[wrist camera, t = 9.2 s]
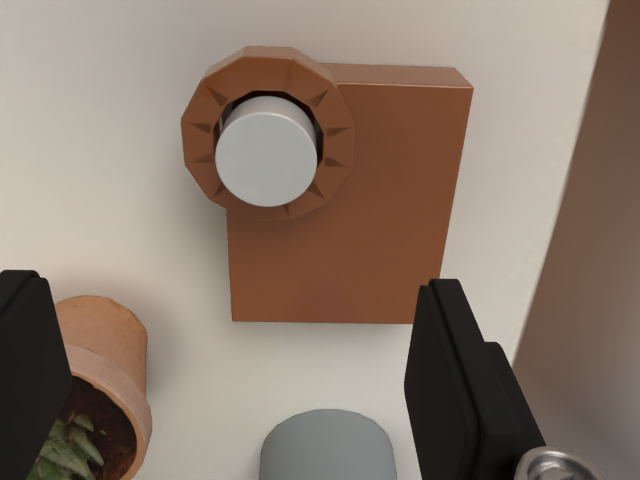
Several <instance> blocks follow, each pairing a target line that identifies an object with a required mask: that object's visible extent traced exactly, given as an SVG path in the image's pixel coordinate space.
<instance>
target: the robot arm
mask: <svg viewBox="0 0 640 480" xmlns="http://www.w3.org/2000/svg"><path fill="white" fill-rule="evenodd" d="M71 385H72V374H71V370H70V366H69V362H68V358H67V354H66V350H65V346H64V342H63V338H62V334H61V330H60V326H59V322H58V318H57V314H56V310H55V306H54V303H53V299H52V295H51V291H50V287H49V283H48V281H47V279H46V278H40V276H39V274H38V273H37V272H36V271H34V270H4V271H2V272H1V273H0V480H27V478H28V476H29V474H30V472H31V470H32V468H33V466H34V464H35V462H36V460H37V458H38V456H39V453H40V451H41V449H42V447H43V445H44V443H45V441H46V439H47V437H48V435H49V433H50V431H51V429H52V427H53V425H54V423H55V421H56V419H57V417H58V415H59V413H60V411H61V409H62V407H63V405H64V403H65V401H66V399H67V397H68V395H69V392H70V389H71ZM404 393H405V399H406V404H407V409H408V414H409V418H410V423H411V428H412V433H413V438H414V443H415V447H416V452H417V457H418V462H419V467H420V472H421V476H422V480H607V479H606V478H605V477H604V476H603V474H602V473H601V472H600V471H599V470H598V468H596V467H595V466H594V465H593V464H591V463H590V462H589V461H588V460H586V459H585V458H583V457H581V456H579V455H577V454H575V453H573V452H572V451H569V450H565V449H562V448H558V447H548V446H546V444H545V441H544V439H543V437H542V435H541V433H540V430H539V428H538V426H537V424H536V422H535V419H534V418H533V415H532V413H531V411H530V408H529V406H528V404H527V402H526V400H525V397H524V395H523V393H522V391H521V389H520V386H519V384H518V382H517V380H516V377H515V376H514V373H513V371H512V369H511V366H510V364H509V362H508V360H507V358H506V355H505V353H504V351H503V349H502V347H501V346H500V344H498V343H497V342H485V341H484V339H483V337H482V334H481V332H480V329H479V327H478V325H477V322H476V320H475V317H474V315H473V313H472V310H471V308H470V306H469V303H468V301H467V298H466V296H465V294H464V291H463V289H462V286H461V284H460V282H459V280H457V279H433V278H431V279H430V280H429V282H428V285H421V286H420V288H419V292H418V298H417V304H416V310H415V316H414V323H413V329H412V335H411V341H410V348H409V354H408V360H407V366H406V373H405V379H404Z"/></svg>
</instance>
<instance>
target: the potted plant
mask: <svg viewBox="0 0 640 480" xmlns="http://www.w3.org/2000/svg"><path fill="white" fill-rule="evenodd" d="M54 306H55V310H56V314H57V318H58V322H59V326H60V330H61V334H62V338H63V342H64V346H65V350H66V354H67V358H68V362H69V366H70V370H71V374H72V385H71V389H70V392H69V395H68V397H67V399H66V401H65V403H64V405H63V407H62V409H61V411H60V413H59V415H58V417H57V419H56V421H55V423H54V425H53V427H52V429H51V431H50V433H49V435H48V437H47V439H46V441H45V443H44V445H43V447H42V449H41V451H40V453H39V456H38V458H37V460H36V462H35V464H34V466H33V468H32V470H31V472H30V474H29V476H28V478H27V480H131V479H132V478H133V477H134V476H135V474H136V473H137V472H138V470H139V469H140V467H141V466H142V464H143V460H144V457H145V454H146V451H147V447H148V444H149V441H150V437H151V432H152V417H151V411H150V406H149V404H148V402H147V401H146V345H147V333H146V329H145V328H144V327H143V325H142V324H141V323H140V322H139V320H138V319H137V318H136V317H135V315H134V314H133V313H132V312H131V311H130V310H128V309H126V308H124V307H123V306H121V305H119V304H117V303H115V302H114V301H112V300H110V299H108V298H104V297H98V296H80V297H73V298H68V299H66V300H63V301H61V302H58V303H57V304H56V305H54Z"/></svg>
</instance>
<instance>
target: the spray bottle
mask: <svg viewBox="0 0 640 480" xmlns="http://www.w3.org/2000/svg"><path fill="white" fill-rule="evenodd" d="M259 480H398V478H397V472H396V466H395V460H394V454H393V448H392V445H391V442H390V440H389V438H388V435H387V433H386V432H385V431H384V430H383V429H382V428H381V427H380V426H379V425H377V424H376V423H375V422H374V421H372V420H370V419H368V418H366V417H364V416H362V415H359V414H357V413H352V412H347V411H342V410H337V409H336V410H314V411H310V412H306V413H303V414H299V415H295V416H293V417H291V418H289V419H288V420H286V421H284V422H282V423H281V424H279V425H277V426H276V427H275V428H274V430H273V431H272V432H271V433H270V434H269V435H268V436H267V437H266V439H265V442H264V445H263V448H262V450H261V460H260V472H259Z"/></svg>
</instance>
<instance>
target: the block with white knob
mask: <svg viewBox="0 0 640 480" xmlns="http://www.w3.org/2000/svg"><path fill="white" fill-rule="evenodd" d="M473 89H474V88H473V86H472V85H471V84H470V83H469V82H468V81H467V80H466V79H465V78H464V77H463V76H462V75H461V74H460V73H459V72H458V71H457V70H456V69H455V68H447V67H419V66H391V65H363V64H335V63H317V62H315V61H314V60H312V59H311V58H309V57H308V56H306V55H305V54H303V53H301V52H300V51H298V50H297V49H294V48H292V47H265V46H248V47H247V46H246V47H244V48H243V49H241V50H239V51H237V52H236V53H234V54H232V55H230V56H229V57H227V58H225V59H223V60H222V61H220V62H218V63H216V64H215V65H213V66H211V67H209V69H208V70H207V71H206V73H205V75H204V76H203V78H202V79H201V81H200V83H199V85H198V87H197V89H196V91H195V93H194V94H193V96H192V98H191V100H190V102H189V104H188V106H187V108H186V110H185V112H184V114H183V116H182V118H181V131H182V142H183V153H184V162H185V166H186V167H187V169H188V170H189V171H190V173H191V174H192V176H193V177H194V178H195V180H196V181H197V183H198V184H199V186H200V187H201V188H202V190H203V191H204V193H205V194H206V196H207V197H208V198H209V199H210V200H211V201H213V202H215V203H217V204H219V205H220V206H222V207H224V208H226V216H227V235H228V254H229V274H230V293H231V313H232V321H247V322H307V323H368V324H413V323H414V316H415V310H416V304H417V298H418V292H419V288H420V286H421V285H428V282H429V280H430V279H431V278H433V279H439V277H440V271H441V266H442V260H443V255H444V249H445V244H446V238H447V233H448V227H449V222H450V216H451V210H452V205H453V199H454V194H455V188H456V183H457V177H458V172H459V166H460V161H461V155H462V150H463V144H464V139H465V133H466V128H467V122H468V117H469V111H470V105H471V100H472V94H473ZM260 96H275V97H279V98H283V99H286V100H288V101H290V102H292V103H294V104H295V105H297V106H298V107H299V108H300V109H301V110H303V111H304V113H305V114H306V115H307V116H308V118H309V119H310V121H311V123H312V125H313V128H314V131H315V135H316V149H317V168H316V172H315V176H314V178H313V181H312V182H311V184H310V186H309V187H308V188H307V190H306V191H305V192H304V193H303V194H302V195H300V196H299V197H298V198H296V199H295V200H293V201H291V202H289V203H286V204H283V205H280V206H274V207H262V206H256V205H252V204H249V203H247V202H245V201H242V200H241V199H239V198H237V197H236V196H235V195H233V194H232V193H231V192H230V191H229V190H228V189H227V188H226V186H225V185H224V184H223V182H222V181H221V179H220V177H219V174H218V172H217V168H216V163H215V151H216V146H217V143H218V140H219V137H220V117H221V118H222V129H223V127H224V124H225V122H226V120H227V118H228V116H229V115H230V113H231V112H232V111H233V110H234V109H235V108H236V107H237V106H238V105H240V104H241V103H243V102H245V101H247V100H249V99H252V98H255V97H260Z"/></svg>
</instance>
